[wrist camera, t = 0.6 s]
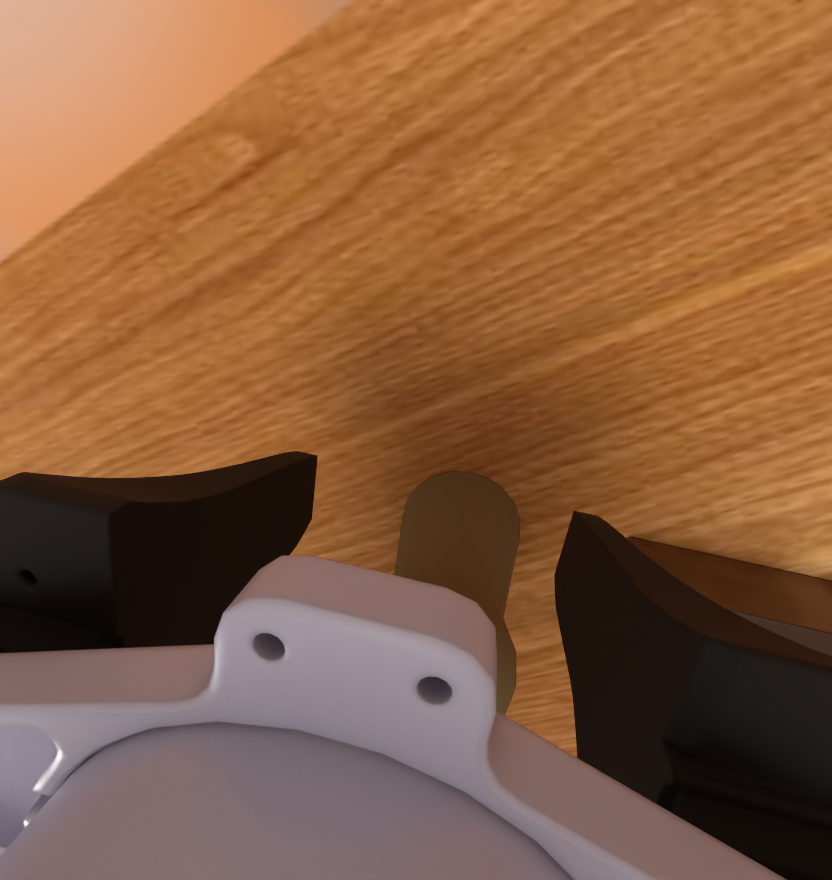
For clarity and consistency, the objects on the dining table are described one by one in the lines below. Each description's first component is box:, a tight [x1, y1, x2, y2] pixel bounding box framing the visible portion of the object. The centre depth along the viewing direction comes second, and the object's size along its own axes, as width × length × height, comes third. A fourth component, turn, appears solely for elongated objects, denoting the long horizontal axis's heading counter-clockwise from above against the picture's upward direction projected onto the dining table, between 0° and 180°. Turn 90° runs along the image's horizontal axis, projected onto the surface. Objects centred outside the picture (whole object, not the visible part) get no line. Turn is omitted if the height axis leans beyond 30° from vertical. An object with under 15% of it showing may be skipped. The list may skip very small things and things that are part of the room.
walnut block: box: [628, 537, 832, 656], centre depth 21 cm, size 5×10×4 cm, turn 81°
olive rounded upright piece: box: [394, 472, 520, 715], centre depth 19 cm, size 6×6×11 cm
